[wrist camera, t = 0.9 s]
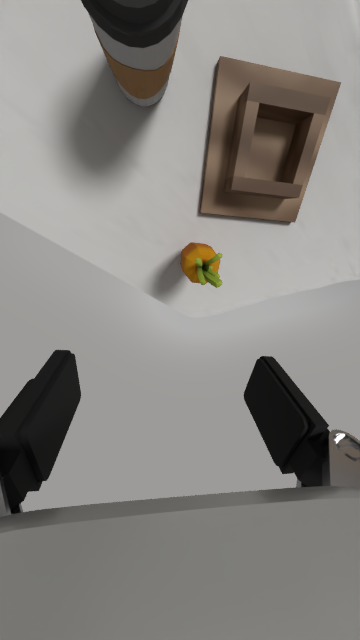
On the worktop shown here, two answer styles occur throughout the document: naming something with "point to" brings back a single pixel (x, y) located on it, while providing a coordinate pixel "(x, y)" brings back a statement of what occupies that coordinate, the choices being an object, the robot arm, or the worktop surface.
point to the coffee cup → (138, 43)
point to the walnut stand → (263, 139)
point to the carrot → (201, 264)
